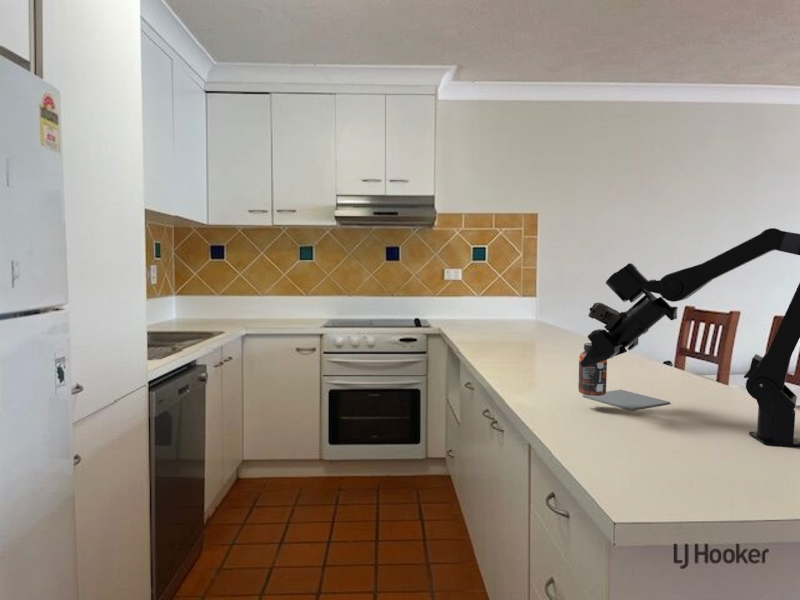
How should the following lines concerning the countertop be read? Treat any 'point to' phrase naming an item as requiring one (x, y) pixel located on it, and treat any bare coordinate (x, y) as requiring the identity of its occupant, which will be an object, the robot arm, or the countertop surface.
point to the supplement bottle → (592, 376)
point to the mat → (627, 400)
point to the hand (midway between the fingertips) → (586, 363)
